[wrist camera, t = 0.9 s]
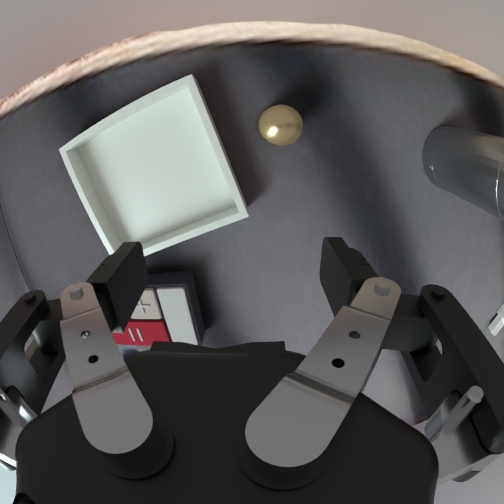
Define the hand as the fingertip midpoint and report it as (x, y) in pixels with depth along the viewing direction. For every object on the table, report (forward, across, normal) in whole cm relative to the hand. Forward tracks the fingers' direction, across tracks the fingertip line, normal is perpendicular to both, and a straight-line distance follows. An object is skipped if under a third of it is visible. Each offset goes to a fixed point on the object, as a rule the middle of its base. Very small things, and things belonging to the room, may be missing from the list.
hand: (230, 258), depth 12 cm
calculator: (+22, +14, +19) cm, 32 cm away
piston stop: (+22, -4, -5) cm, 23 cm away
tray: (+22, +10, 0) cm, 24 cm away
